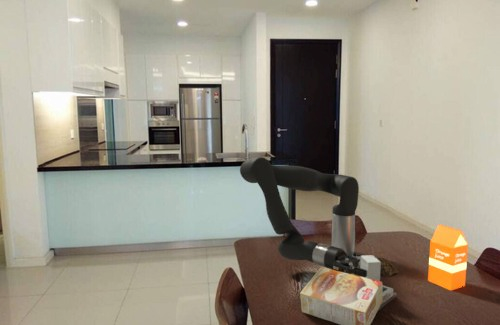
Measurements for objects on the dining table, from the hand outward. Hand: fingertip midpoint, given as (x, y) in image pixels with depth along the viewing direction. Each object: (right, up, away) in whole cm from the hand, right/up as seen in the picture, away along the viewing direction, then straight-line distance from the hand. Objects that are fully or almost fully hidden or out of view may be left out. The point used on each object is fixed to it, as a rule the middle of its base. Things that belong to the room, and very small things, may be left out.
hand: (373, 270), depth 119 cm
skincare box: (-1, -8, +1) cm, 9 cm away
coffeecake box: (-20, -5, -2) cm, 21 cm away
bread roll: (+10, -7, +24) cm, 27 cm away
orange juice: (+29, -8, +12) cm, 33 cm away
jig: (-1, -9, +2) cm, 10 cm away
